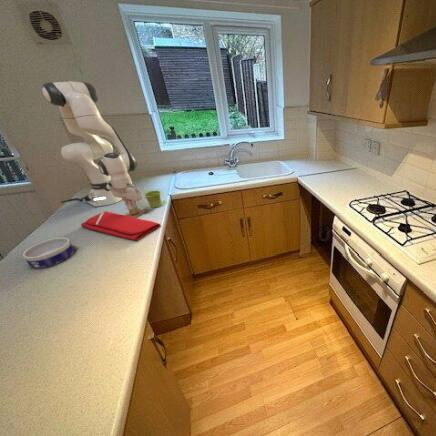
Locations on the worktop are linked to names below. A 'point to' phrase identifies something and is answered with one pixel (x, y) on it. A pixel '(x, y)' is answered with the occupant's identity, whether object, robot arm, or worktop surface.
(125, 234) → the dish drying mat
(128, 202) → the sprinkles bottle
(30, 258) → the dog bowl
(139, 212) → the coaster
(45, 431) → the worktop surface
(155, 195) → the plant pot
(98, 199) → the robot arm
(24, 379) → the worktop surface
